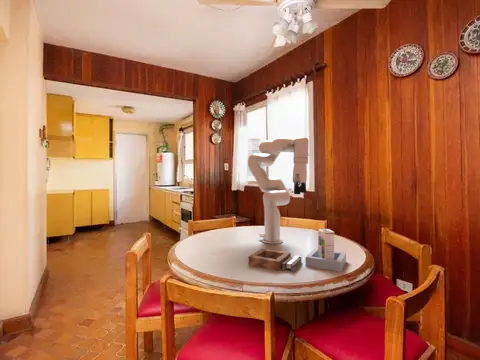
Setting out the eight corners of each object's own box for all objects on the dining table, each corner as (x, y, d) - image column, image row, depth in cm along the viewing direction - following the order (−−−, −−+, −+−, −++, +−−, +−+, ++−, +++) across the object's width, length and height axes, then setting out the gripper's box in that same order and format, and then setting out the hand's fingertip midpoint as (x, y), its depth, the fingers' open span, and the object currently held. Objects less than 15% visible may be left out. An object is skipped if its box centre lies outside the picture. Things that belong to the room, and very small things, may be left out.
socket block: (248, 265, 119) (248, 256, 119) (262, 256, 132) (262, 248, 132) (292, 273, 109) (292, 264, 109) (303, 263, 121) (303, 254, 121)
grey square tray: (305, 265, 118) (305, 256, 118) (314, 256, 131) (314, 248, 131) (340, 271, 110) (340, 262, 110) (346, 261, 123) (346, 253, 123)
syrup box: (317, 259, 124) (317, 228, 123) (329, 258, 124) (329, 228, 124) (322, 263, 118) (322, 231, 118) (334, 262, 118) (334, 231, 118)
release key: (285, 269, 113) (285, 263, 113) (295, 260, 124) (295, 254, 124) (292, 270, 111) (292, 264, 111) (301, 261, 122) (301, 255, 122)
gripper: (299, 161, 146) (298, 191, 147) (288, 160, 131) (287, 194, 132) (312, 161, 142) (311, 192, 143) (302, 160, 128) (301, 195, 129)
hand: (300, 193), depth 138 cm, fingers open, 9 cm apart
